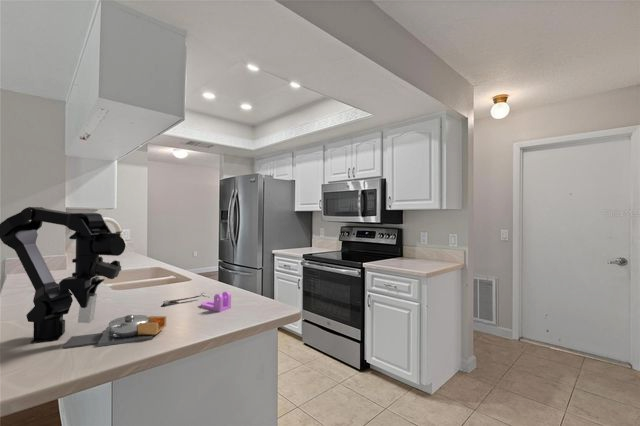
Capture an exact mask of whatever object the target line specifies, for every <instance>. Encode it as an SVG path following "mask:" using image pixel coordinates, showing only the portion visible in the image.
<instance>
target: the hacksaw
mask: <svg viewBox="0 0 640 426" xmlns="http://www.w3.org/2000/svg"><path fill="white" fill-rule="evenodd" d="M200 297H204V298H205V297H206V298H210V296H207V295H205V294H204V292H202V293H200V294H199V295H195V296H191V297H184V298H178V299H172V300H166V302H164V303H162V304H161V305H160V306H161V307H163V308H165V307H169V306H174V305H175V306H176V305H179V304H185V303H190V302H195V301H197V302H198V299H196V298H200ZM189 299H192V300H189ZM193 299H194V300H193Z"/></svg>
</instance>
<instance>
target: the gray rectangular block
mask: <svg viewBox="0 0 640 426" xmlns="http://www.w3.org/2000/svg"><path fill="white" fill-rule="evenodd" d="M97 296H98V293H96V292H95V293H89V296H88V302H87V306H86V308H81V306H80V305H79V310H78V318H77V324H89V323H91V322H92V321H94V320H95V313H96V305H97V298H98V297H97Z"/></svg>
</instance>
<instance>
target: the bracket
mask: <svg viewBox="0 0 640 426" xmlns="http://www.w3.org/2000/svg"><path fill="white" fill-rule="evenodd" d="M200 307H201V308H202V309H206V310H210V311H214V312H218V313H222V312H225V311H227V310H230V309H231V307H232V294H231V292H230V291H228V290H227V291H224V292H222V293H221V292H220V293H216V294H214V296H213V300H206V301H202V302H201V304H200Z"/></svg>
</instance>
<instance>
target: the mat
mask: <svg viewBox="0 0 640 426" xmlns="http://www.w3.org/2000/svg"><path fill="white" fill-rule="evenodd" d="M103 333H104V332H99V333H91V334H82V335H74V336H71V337H70V338H69V339H68V341H66V343H65V344H64V345H63V347H62V349H63V350H64V349H72V348H79V347H86V346H93V345H94V346H95V345H98V342H99V340H100V338H101V337H102V335H103Z"/></svg>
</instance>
